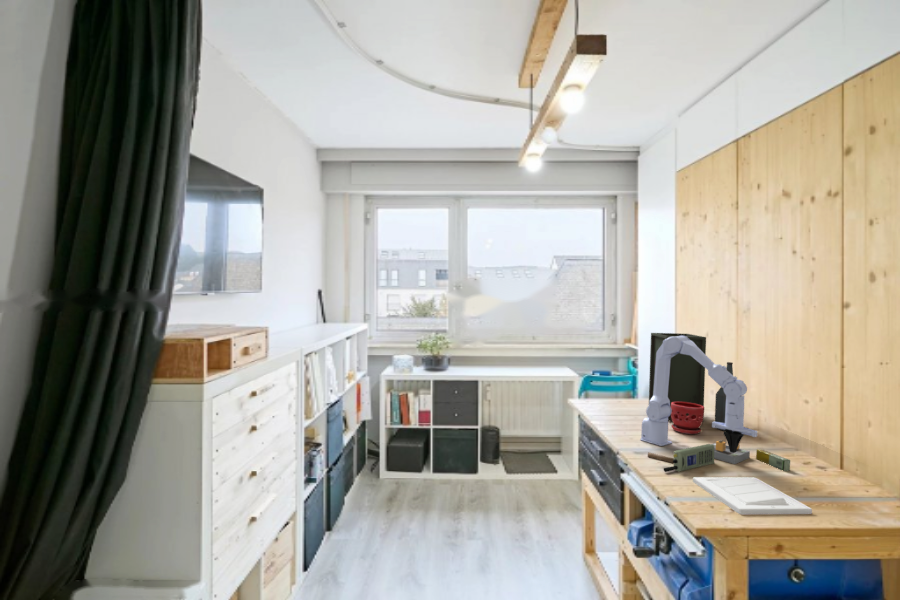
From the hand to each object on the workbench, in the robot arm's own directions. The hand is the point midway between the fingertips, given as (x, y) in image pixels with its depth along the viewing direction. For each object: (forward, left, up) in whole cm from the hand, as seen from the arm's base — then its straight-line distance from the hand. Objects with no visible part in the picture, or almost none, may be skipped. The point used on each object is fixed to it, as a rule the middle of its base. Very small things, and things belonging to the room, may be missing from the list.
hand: (733, 451), depth 174 cm
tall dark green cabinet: (-46, +45, -4) cm, 64 cm away
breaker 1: (-4, 0, -1) cm, 4 cm away
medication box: (+9, +9, -4) cm, 13 cm away
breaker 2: (-2, +7, -1) cm, 7 cm away
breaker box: (-4, +4, -3) cm, 7 cm away
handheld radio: (-6, -20, -4) cm, 21 cm away
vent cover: (+17, -28, -4) cm, 33 cm away
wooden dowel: (-15, -21, -4) cm, 26 cm away
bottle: (-21, +44, -4) cm, 49 cm away
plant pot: (-29, +24, -4) cm, 38 cm away
